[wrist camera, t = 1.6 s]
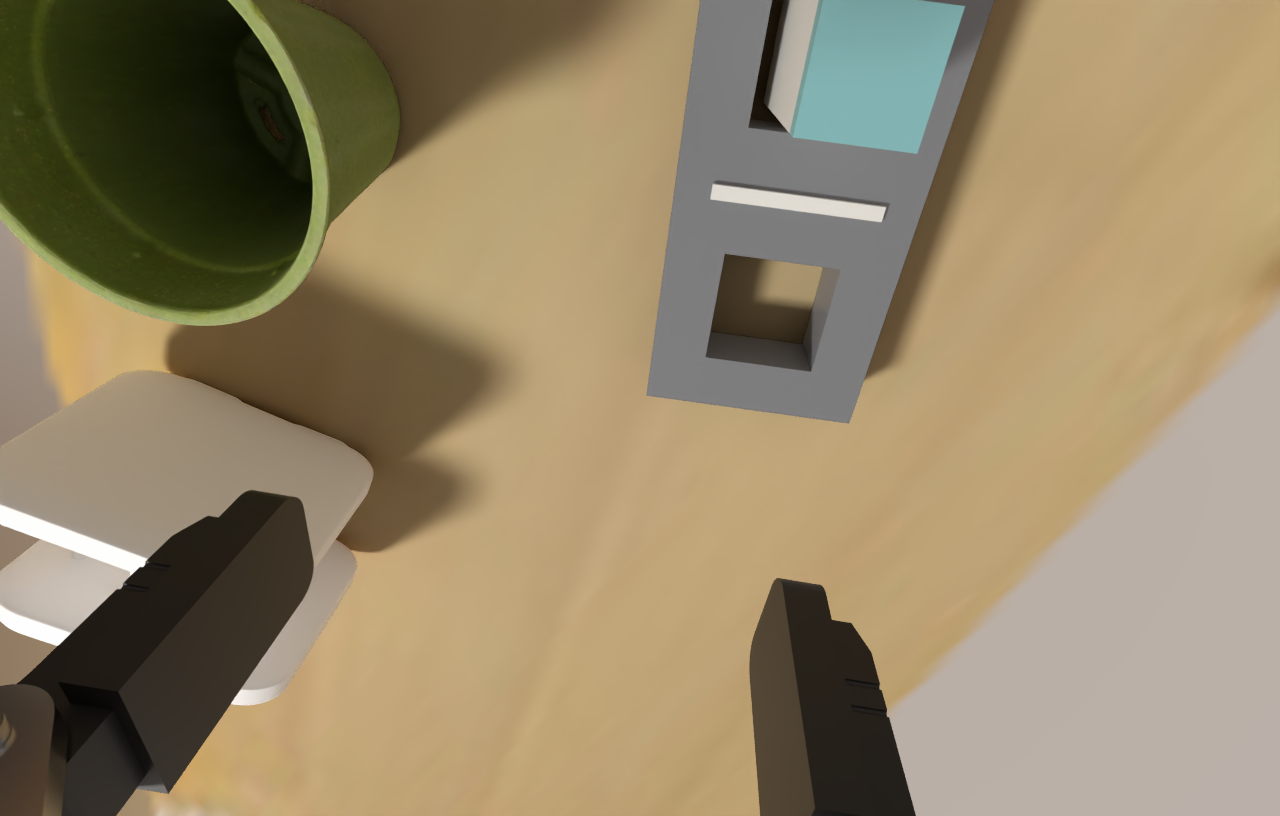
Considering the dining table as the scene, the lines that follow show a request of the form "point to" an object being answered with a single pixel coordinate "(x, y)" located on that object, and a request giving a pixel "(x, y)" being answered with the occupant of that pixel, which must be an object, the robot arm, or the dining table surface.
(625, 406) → the dining table surface
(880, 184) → the socket board
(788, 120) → the plug peg
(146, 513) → the cable organizer
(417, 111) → the dining table surface
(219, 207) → the plant pot
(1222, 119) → the dining table surface
